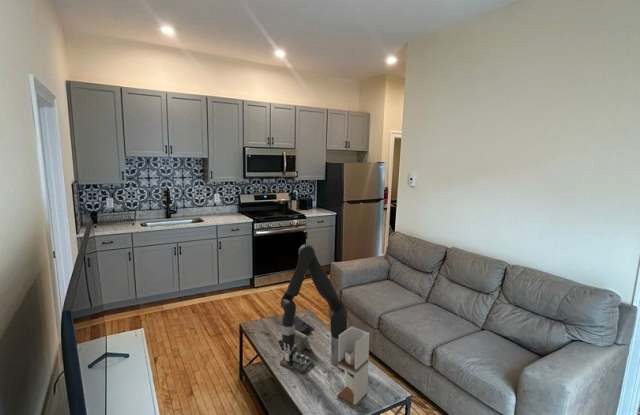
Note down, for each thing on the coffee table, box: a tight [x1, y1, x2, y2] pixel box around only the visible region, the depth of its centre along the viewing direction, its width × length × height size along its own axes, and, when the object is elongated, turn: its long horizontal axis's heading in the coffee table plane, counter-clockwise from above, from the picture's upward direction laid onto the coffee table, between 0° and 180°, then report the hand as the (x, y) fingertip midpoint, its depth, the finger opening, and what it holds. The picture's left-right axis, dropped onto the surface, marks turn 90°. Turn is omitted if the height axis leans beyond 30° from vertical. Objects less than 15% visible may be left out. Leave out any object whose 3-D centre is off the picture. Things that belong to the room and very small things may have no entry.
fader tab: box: [284, 350, 290, 361], centre depth 198 cm, size 2×4×5 cm, turn 149°
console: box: [279, 351, 315, 375], centre depth 198 cm, size 16×12×4 cm
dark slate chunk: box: [294, 316, 315, 335], centre depth 238 cm, size 15×22×5 cm
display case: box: [336, 325, 370, 409], centre depth 169 cm, size 11×11×35 cm
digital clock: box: [293, 330, 312, 352], centre depth 214 cm, size 16×9×11 cm, turn 38°
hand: (288, 358), depth 198 cm, fingers closed on fader tab, 2 cm apart
